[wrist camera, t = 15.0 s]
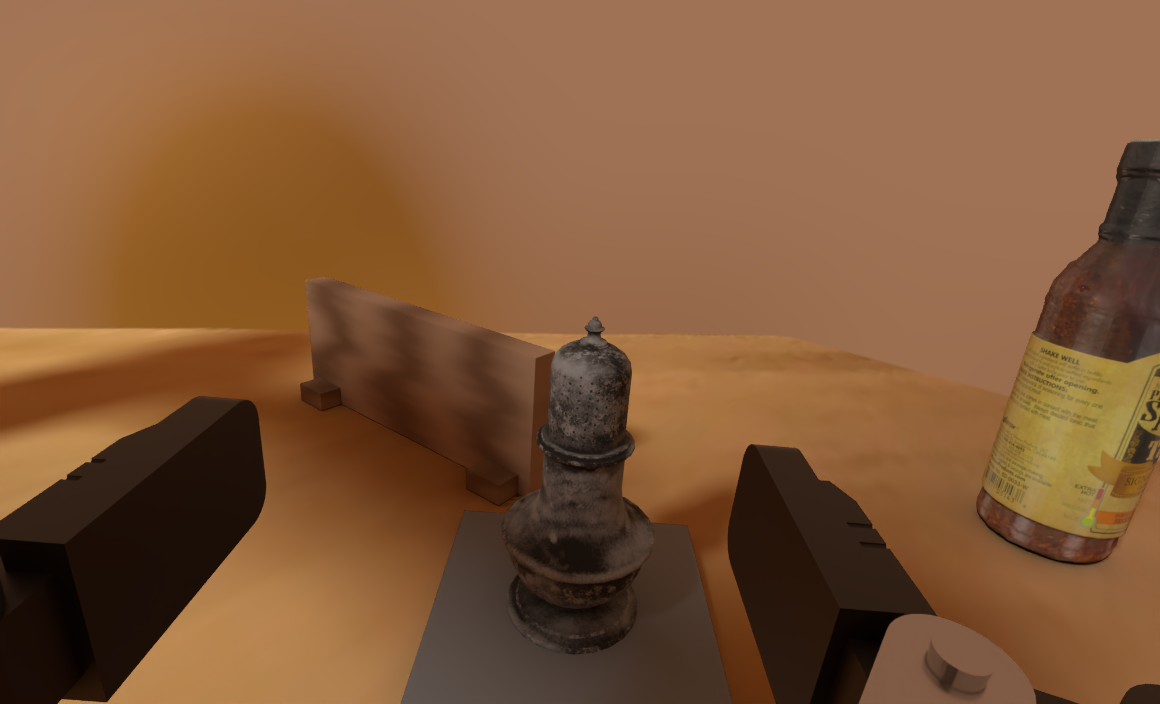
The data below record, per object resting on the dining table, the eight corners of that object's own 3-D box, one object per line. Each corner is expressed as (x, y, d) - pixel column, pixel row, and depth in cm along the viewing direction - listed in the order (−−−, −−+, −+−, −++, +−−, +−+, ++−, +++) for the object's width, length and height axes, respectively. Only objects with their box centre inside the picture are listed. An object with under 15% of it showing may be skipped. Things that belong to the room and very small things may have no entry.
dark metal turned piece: (592, 538, 28) (615, 289, 24) (675, 624, 23) (721, 333, 19) (475, 579, 25) (479, 301, 21) (543, 686, 20) (565, 357, 16)
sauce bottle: (1111, 590, 28) (1318, 143, 21) (960, 530, 32) (1096, 133, 25) (1113, 530, 33) (1283, 149, 26) (981, 484, 37) (1101, 140, 30)
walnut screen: (295, 396, 41) (283, 283, 39) (351, 379, 45) (344, 273, 42) (510, 511, 31) (515, 366, 28) (563, 477, 34) (572, 344, 31)
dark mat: (397, 727, 19) (397, 713, 19) (464, 520, 30) (464, 510, 29) (737, 748, 19) (740, 735, 19) (685, 535, 30) (687, 525, 30)
